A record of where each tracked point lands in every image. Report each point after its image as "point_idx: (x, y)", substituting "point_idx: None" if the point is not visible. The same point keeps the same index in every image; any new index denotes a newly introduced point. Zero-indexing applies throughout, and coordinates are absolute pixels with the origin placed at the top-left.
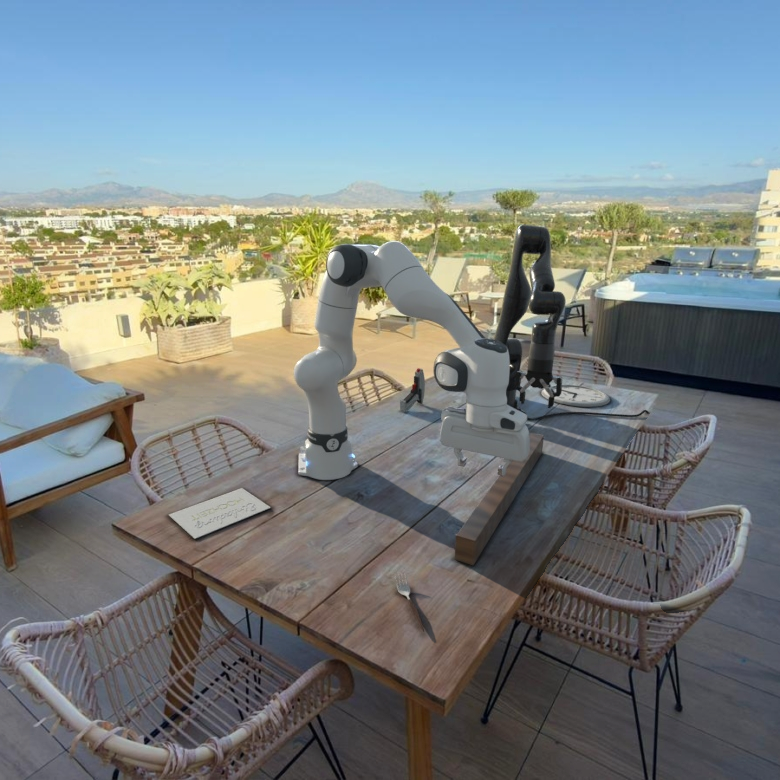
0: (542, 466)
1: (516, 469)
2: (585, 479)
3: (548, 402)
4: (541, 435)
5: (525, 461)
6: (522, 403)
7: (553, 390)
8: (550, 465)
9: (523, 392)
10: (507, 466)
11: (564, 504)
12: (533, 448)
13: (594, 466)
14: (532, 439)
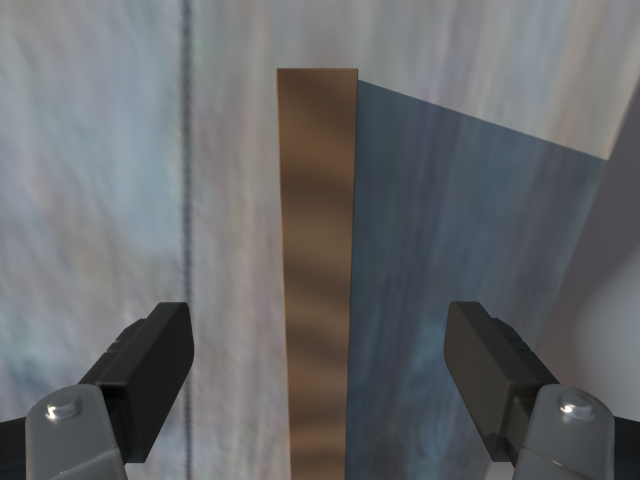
0: (375, 221)
1: (329, 473)
2: (535, 252)
3: (466, 405)
4: (345, 83)
5: (342, 410)
6: (187, 360)
7: (611, 462)
8: (403, 196)
9: (126, 458)
10: (295, 467)
11: (469, 424)
12: (343, 282)
13: (582, 112)
14: (312, 174)
